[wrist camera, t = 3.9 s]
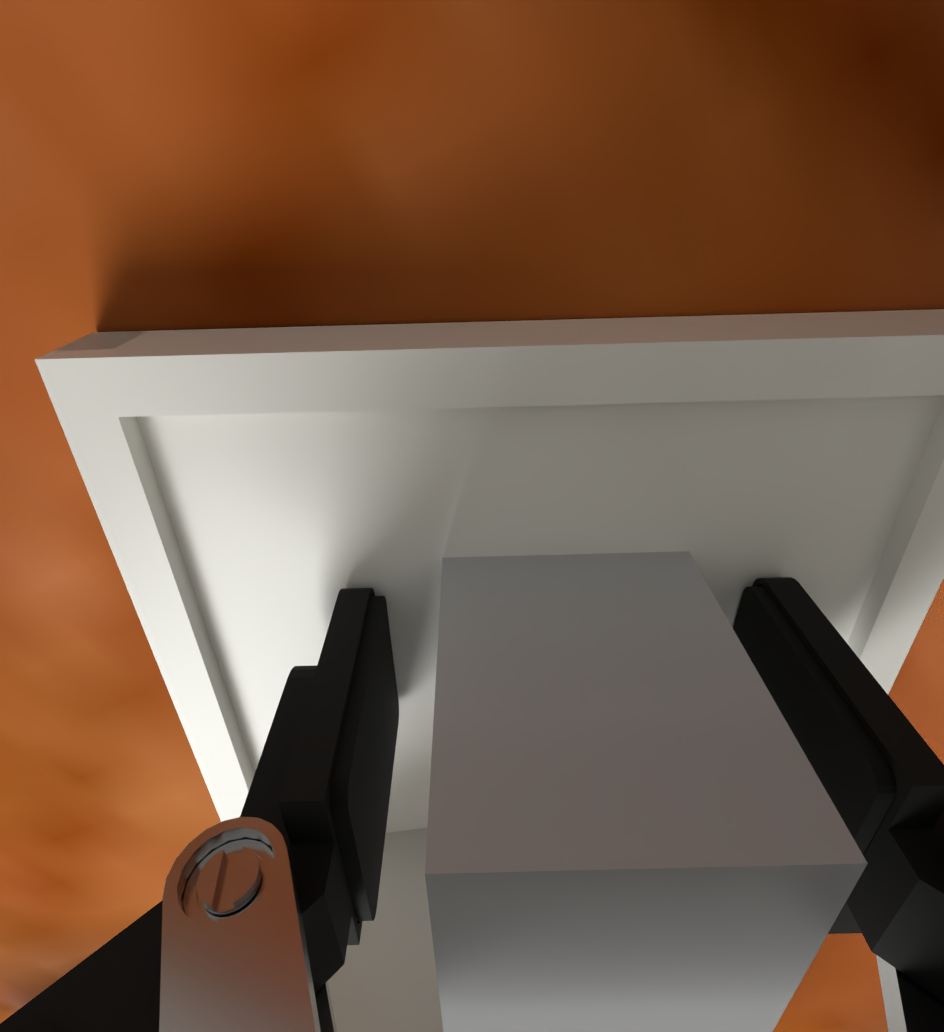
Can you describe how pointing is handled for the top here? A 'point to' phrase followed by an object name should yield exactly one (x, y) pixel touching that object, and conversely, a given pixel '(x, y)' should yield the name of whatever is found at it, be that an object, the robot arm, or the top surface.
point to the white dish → (493, 484)
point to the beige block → (392, 951)
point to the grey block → (617, 806)
